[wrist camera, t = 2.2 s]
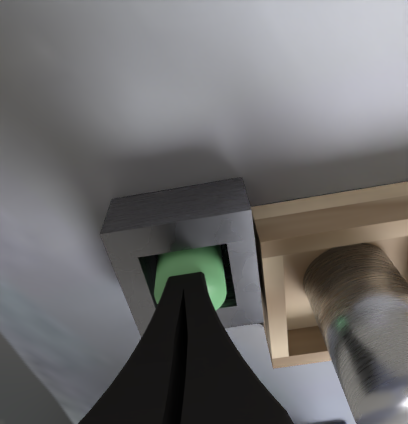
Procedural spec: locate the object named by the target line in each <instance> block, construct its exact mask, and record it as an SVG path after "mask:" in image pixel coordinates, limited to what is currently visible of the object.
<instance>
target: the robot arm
mask: <svg viewBox="0 0 408 424" xmlns="http://www.w3.org/2000/svg"><path fill="white" fill-rule="evenodd" d="M78 424H294V423H293V422H292V420H291V418H290V417H289V415H288V413H287V411H286V410H285V409H284V408H283V407H282V406H281V404H280V403H279V402H278V401H277V400H276V399H275V398H274V397H273V396H272V394H271V393H270V392H269V391H268V390H267V389H266V387H265V386H264V385H263V384H262V383H261V381H260V380H259V379H258V378H257V376H256V375H255V374H254V372H253V371H252V370H251V368H250V367H249V366H248V364H247V363H246V362H245V360H244V359H243V357H242V356H241V354H240V353H239V351H238V350H237V348H236V347H235V345H234V344H233V342H232V340H231V339H230V337H229V335H228V334H227V332H226V330H225V328H224V326H223V325H222V323H221V321H220V319H219V317H218V315H217V313H216V310H215V308H214V306H213V304H212V301H211V299H210V296H209V293H208V288H207V284H206V279H205V275H204V273H202V272H196V273H189V274H183V275H176V276H170V277H169V278H168V279H167V282H166V285H165V287H164V290H163V293H162V295H161V298H160V300H159V303H158V305H157V307H156V310H155V312H154V314H153V316H152V318H151V320H150V322H149V324H148V326H147V328H146V330H145V332H144V334H143V336H142V338H141V340H140V341H139V343H138V345H137V347H136V348H135V350H134V352H133V353H132V355H131V356H130V358H129V360H128V361H127V363H126V364H125V366H124V367H123V369H122V370H121V371H120V373H119V374H118V376H117V377H116V378H115V380H114V381H113V383H112V384H111V385H110V387H109V388H108V389H107V390H106V392H105V393H104V394H103V395H102V396H101V398H100V399H99V400H98V401H97V403H96V404H95V405H94V406H93V407H92V409H91V410H90V411H89V412H88V413H87V414H86V415H85V417H84V418H83V419H82V420H81V421H80V422H79V423H78Z"/></svg>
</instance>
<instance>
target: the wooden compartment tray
mask: <svg viewBox="0 0 408 424" xmlns="http://www.w3.org/2000/svg"><path fill="white" fill-rule="evenodd" d="M251 210H252V219H253V228H254V237H255V246H256V255H257V264H258V273H259V282H260V291H261V300H262V309H263V318H264V323H263V325H264V331H265V335H266V339H267V344H268V348H269V352H270V357H271V361H272V366H273V369H274V368H281V367H288V366H295V365H303V364H310V363H317V362H324V361H331V358H330V355H329V352H328V350H327V347H326V345H325V342H324V339H323V337H322V334H321V332H320V329H319V327H318V324H317V321H316V319H315V316H314V314H313V311H312V309H311V306H310V303H309V301H308V298H307V296H306V293H305V290H304V287H303V278H304V274H305V272H306V270H307V268H308V266H309V265H310V264H311V263H312V262H313V261H314V259H315V258H317V257H318V256H319V255H320V254H322V253H323V252H325V251H327V250H329V249H331V248H333V247H339V246H346V245H352V244H359V243H368V244H372V245H375V246H377V247H379V248H380V249H381V250H383V251H384V252H385V253H386V255H387V256H388V257H389V259H390V260H391V261H392V263H393V264H394V265H395V267H396V268H397V270H398V271H399V272H400V274H401V275H402V276H403V278H404V279H405V280H406V282H407V283H408V181H407V182H401V183H395V184H389V185H383V186H377V187H370V188H364V189H358V190H352V191H346V192H340V193H334V194H328V195H321V196H315V197H309V198H303V199H297V200H291V201H285V202H278V203H272V204H266V205H260V206H254V207H251Z"/></svg>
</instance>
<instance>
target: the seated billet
mask: <svg viewBox="0 0 408 424" xmlns="http://www.w3.org/2000/svg"><path fill="white" fill-rule="evenodd" d="M303 287H304V290H305V293H306V296H307V298H308V301H309V303H310V306H311V309H312V311H313V314H314V316H315V319H316V321H317V324H318V327H319V329H320V332H321V334H322V337H323V339H324V342H325V345H326V347H327V350H328V352H329V355H330V358H331V360H332V363H333V365H334V368H335V370H336V373H337V376H338V378H339V381H340V383H341V386H342V389H343V391H344V394H345V396H346V399H347V401H348V404H349V407H350V409H351V412H352V414H353V417H354V419H355V422H356V423H357V424H408V283H407V282H406V280H405V279H404V278H403V276H402V275H401V274H400V272H399V271H398V270H397V268H396V267H395V265H394V264H393V263H392V261H391V260H390V259H389V257H388V256H387V255H386V253H385V252H384V251H383V250H381V249H380V248H379V247H377V246H375V245H372V244H368V243H359V244H352V245H346V246H339V247H333V248H331V249H329V250H327V251H325V252H323V253H322V254H320V255H319V256H318V257H317V258H315V259H314V261H313V262H312V263H311V264H310V265H309V266H308V268H307V270H306V272H305V274H304V278H303Z"/></svg>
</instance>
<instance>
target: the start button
mask: <svg viewBox="0 0 408 424" xmlns="http://www.w3.org/2000/svg"><path fill="white" fill-rule="evenodd" d="M196 272H202V273H204V275H205V279H206V284H207V288H208V293H209V296H210V299H211V301H212V304H213V306H214V308H215V310H217V309H218V308H220V306H221V305H222V304H223V302H224V301H225V298H226V293H227V291H226V283H225V275H224V268H223V260H222V253H221V245H213V246H207V247H201V248H194V249H188V250H182V251H175V252H169V253H163V254H158V259H157V269H156V279H155V289H154V297H155V300H156V302H157V304H158V303H159V300H160V298H161V295H162V293H163V290H164V287H165V285H166V282H167V279H168V278H169V277H170V276H176V275H183V274H189V273H196Z"/></svg>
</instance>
